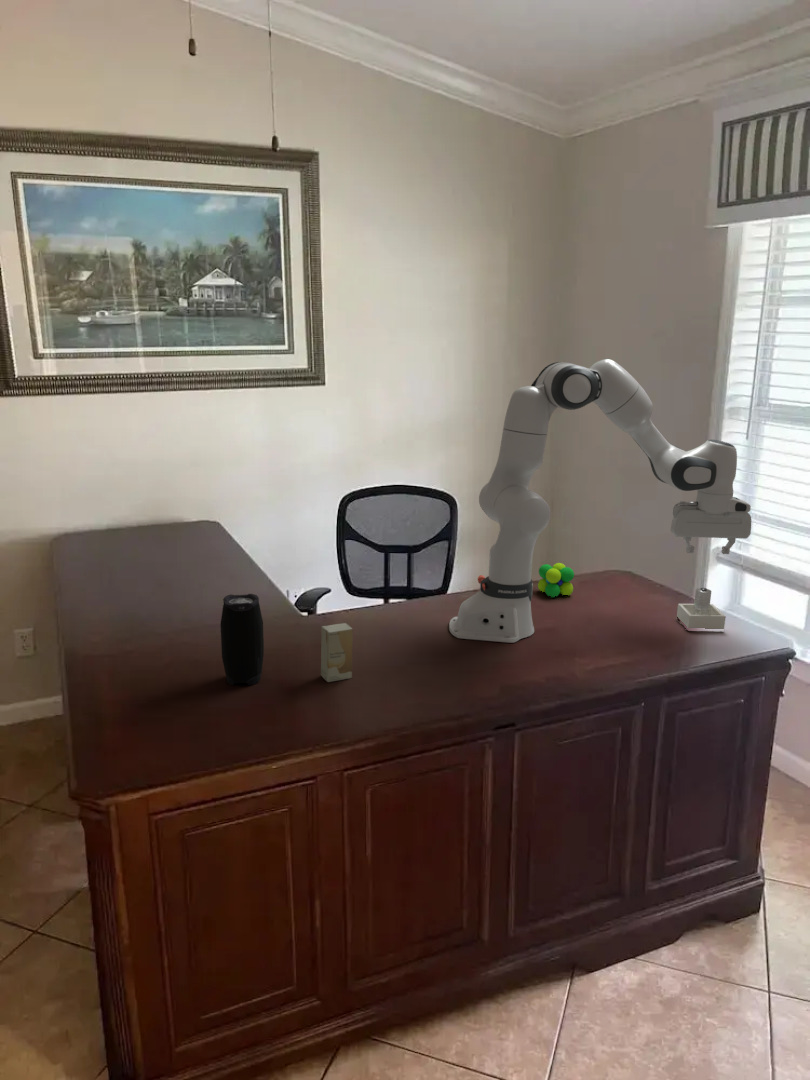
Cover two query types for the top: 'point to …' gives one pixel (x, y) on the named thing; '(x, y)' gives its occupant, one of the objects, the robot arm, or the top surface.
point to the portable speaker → (242, 639)
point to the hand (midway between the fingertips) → (707, 553)
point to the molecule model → (555, 579)
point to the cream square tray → (701, 617)
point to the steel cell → (702, 601)
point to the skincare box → (336, 652)
